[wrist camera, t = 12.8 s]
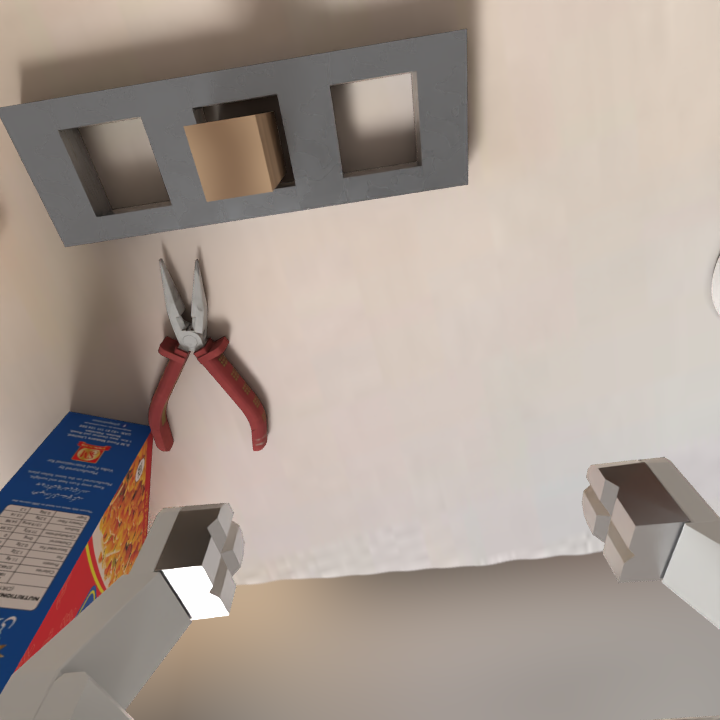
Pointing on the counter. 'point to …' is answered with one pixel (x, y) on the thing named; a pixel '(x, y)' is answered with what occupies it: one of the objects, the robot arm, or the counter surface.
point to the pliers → (207, 354)
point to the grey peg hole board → (282, 78)
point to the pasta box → (69, 528)
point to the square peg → (237, 155)
